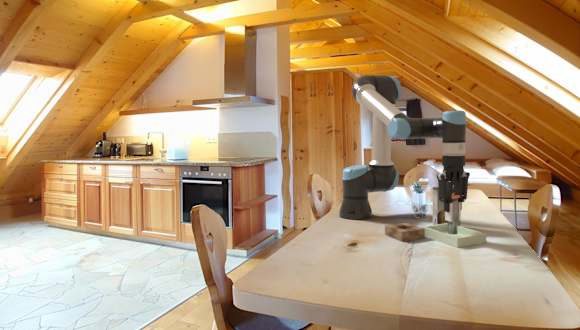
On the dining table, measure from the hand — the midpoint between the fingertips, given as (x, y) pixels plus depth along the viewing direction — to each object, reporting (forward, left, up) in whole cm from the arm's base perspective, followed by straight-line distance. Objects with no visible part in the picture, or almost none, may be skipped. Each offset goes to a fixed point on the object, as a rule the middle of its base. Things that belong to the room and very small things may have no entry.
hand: (452, 220), depth 130 cm
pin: (0, 0, -5) cm, 5 cm away
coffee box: (-13, +10, -7) cm, 17 cm away
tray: (0, 0, -7) cm, 7 cm away
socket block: (-10, -13, -7) cm, 18 cm away
